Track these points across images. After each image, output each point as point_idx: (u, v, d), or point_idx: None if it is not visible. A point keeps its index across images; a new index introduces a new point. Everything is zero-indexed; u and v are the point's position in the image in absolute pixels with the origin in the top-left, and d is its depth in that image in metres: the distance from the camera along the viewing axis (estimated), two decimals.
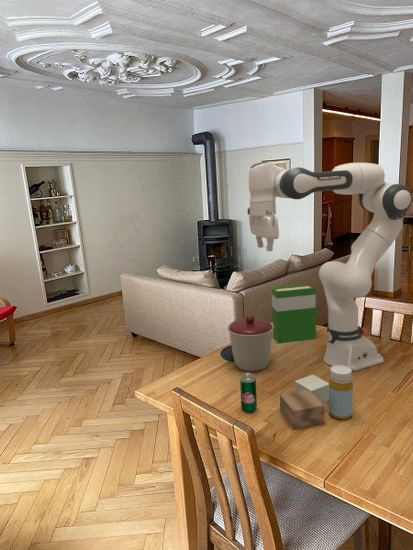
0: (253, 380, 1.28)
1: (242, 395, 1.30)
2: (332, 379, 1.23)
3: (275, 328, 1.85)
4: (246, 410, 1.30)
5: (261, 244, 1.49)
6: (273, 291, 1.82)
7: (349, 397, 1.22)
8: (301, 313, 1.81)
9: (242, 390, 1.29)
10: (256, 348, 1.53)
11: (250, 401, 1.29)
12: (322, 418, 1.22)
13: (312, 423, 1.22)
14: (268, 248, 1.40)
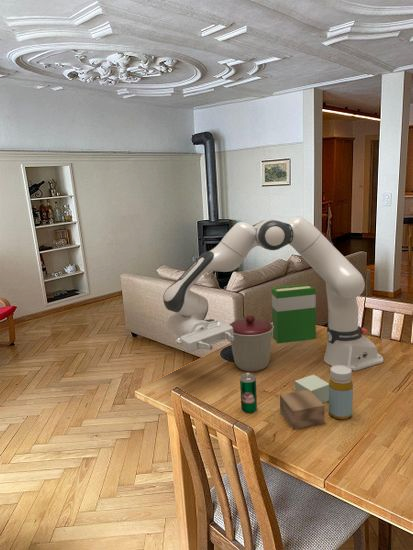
0: (253, 380, 1.28)
1: (242, 395, 1.30)
2: (332, 379, 1.23)
3: (275, 328, 1.85)
4: (246, 410, 1.30)
5: (228, 338, 1.41)
6: (273, 291, 1.82)
7: (349, 397, 1.22)
8: (301, 313, 1.81)
9: (242, 390, 1.29)
10: (256, 348, 1.53)
11: (250, 401, 1.29)
12: (322, 418, 1.22)
13: (312, 423, 1.22)
14: (207, 348, 1.35)
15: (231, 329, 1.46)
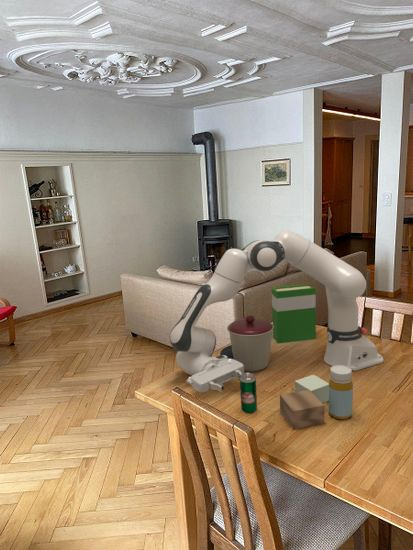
0: (253, 380, 1.28)
1: (242, 395, 1.30)
2: (332, 379, 1.23)
3: (275, 328, 1.85)
4: (246, 410, 1.30)
5: (239, 377, 1.40)
6: (273, 291, 1.82)
7: (349, 397, 1.22)
8: (301, 313, 1.81)
9: (242, 390, 1.29)
10: (256, 348, 1.53)
11: (250, 401, 1.29)
12: (322, 418, 1.22)
13: (312, 423, 1.22)
14: (218, 389, 1.35)
15: (242, 367, 1.45)
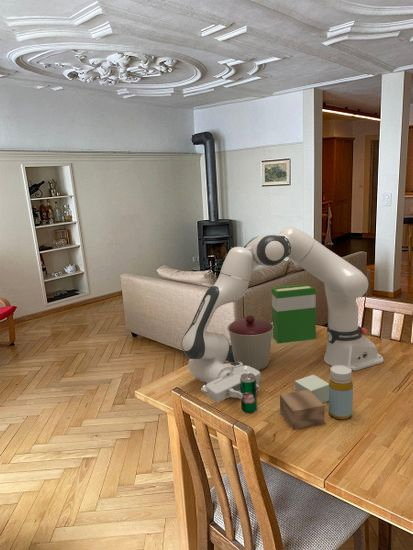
0: (253, 380, 1.28)
1: None
2: (332, 379, 1.23)
3: (275, 328, 1.85)
4: (246, 410, 1.30)
5: None
6: (273, 291, 1.82)
7: (349, 397, 1.22)
8: (301, 313, 1.81)
9: (242, 390, 1.29)
10: (256, 348, 1.53)
11: (250, 401, 1.29)
12: (322, 418, 1.22)
13: (312, 423, 1.22)
14: (239, 397, 1.29)
15: (258, 374, 1.39)
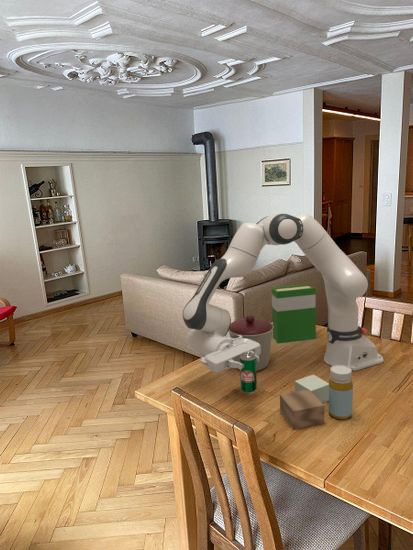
0: (253, 358, 1.27)
1: (242, 374, 1.28)
2: (332, 379, 1.23)
3: (275, 328, 1.85)
4: (245, 389, 1.28)
5: None
6: (273, 291, 1.82)
7: (349, 397, 1.22)
8: (301, 313, 1.81)
9: None
10: None
11: (250, 379, 1.27)
12: (322, 418, 1.22)
13: (312, 423, 1.22)
14: (238, 367, 1.27)
15: (258, 346, 1.36)
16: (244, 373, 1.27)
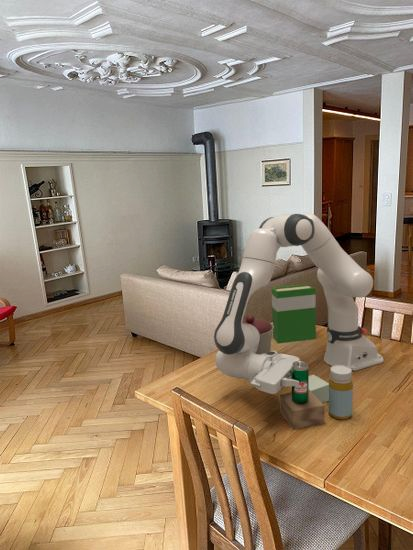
0: (307, 367, 1.21)
1: None
2: (332, 379, 1.23)
3: (275, 328, 1.85)
4: (300, 400, 1.22)
5: None
6: (273, 291, 1.82)
7: (349, 397, 1.22)
8: (301, 313, 1.81)
9: None
10: None
11: (305, 390, 1.22)
12: (322, 418, 1.22)
13: (312, 423, 1.22)
14: (295, 385, 1.20)
15: (299, 360, 1.32)
16: None
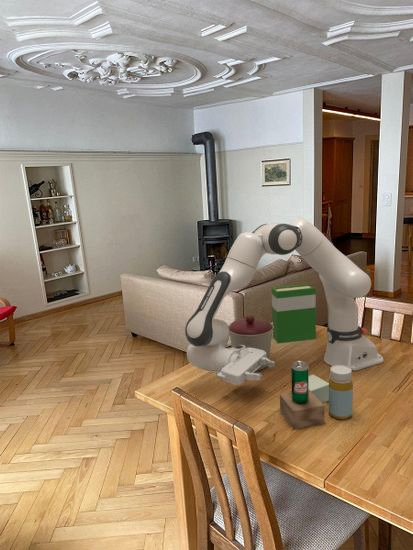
0: (307, 367, 1.21)
1: (296, 385, 1.22)
2: (332, 379, 1.23)
3: (275, 328, 1.85)
4: (300, 400, 1.22)
5: (269, 364, 1.34)
6: (273, 291, 1.82)
7: (349, 397, 1.22)
8: (301, 313, 1.81)
9: (296, 380, 1.21)
10: (256, 348, 1.53)
11: (305, 390, 1.22)
12: (322, 418, 1.22)
13: (312, 423, 1.22)
14: (256, 379, 1.26)
15: (265, 354, 1.39)
16: (299, 384, 1.21)
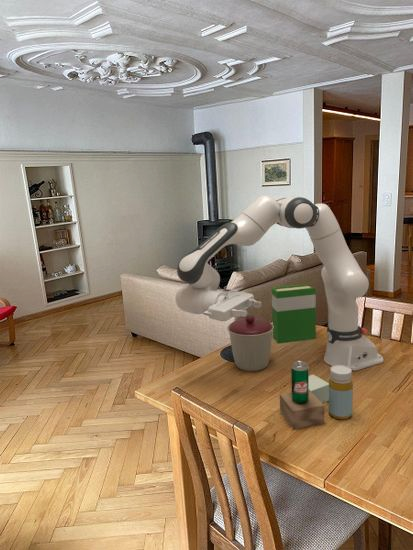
0: (307, 367, 1.21)
1: (296, 385, 1.22)
2: (332, 379, 1.23)
3: (275, 328, 1.85)
4: (300, 400, 1.22)
5: (256, 304, 1.35)
6: (273, 291, 1.82)
7: (349, 397, 1.22)
8: (301, 313, 1.81)
9: (296, 380, 1.21)
10: (256, 348, 1.53)
11: (305, 390, 1.22)
12: (322, 418, 1.22)
13: (312, 423, 1.22)
14: (242, 315, 1.28)
15: (252, 296, 1.40)
16: (299, 384, 1.21)
